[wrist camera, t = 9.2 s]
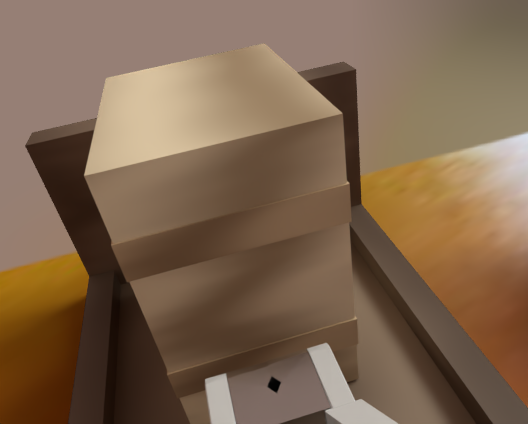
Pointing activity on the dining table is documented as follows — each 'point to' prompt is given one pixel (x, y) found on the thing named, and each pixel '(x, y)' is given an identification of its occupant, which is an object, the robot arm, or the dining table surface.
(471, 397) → the bay
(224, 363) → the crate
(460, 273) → the dining table surface
